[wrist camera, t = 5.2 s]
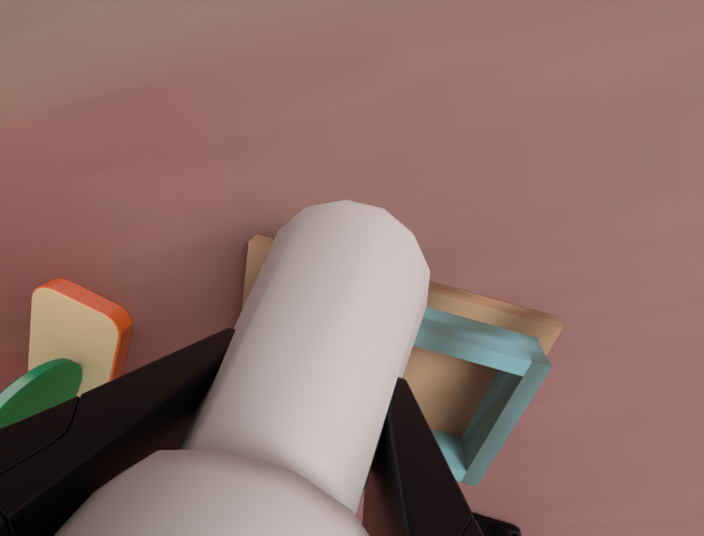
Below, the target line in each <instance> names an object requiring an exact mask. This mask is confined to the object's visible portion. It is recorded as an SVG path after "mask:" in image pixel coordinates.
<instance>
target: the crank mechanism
mask: <svg viewBox="0 0 704 536" xmlns="http://www.w3.org/2000/svg"><path fill="white" fill-rule="evenodd" d="M132 325H133V324H132V321H131V318H130V316H129V315H128V313H127V312H126V311H125V310H124V309H123V308H122V307H121V306H119V305H117V304H116V303H114V302H112V301H110V300H108V299H106V298H104V297H101V296H99V295H97V294H95V293H93V292H91V291H89V290H87V289H85V288H83V287H81V286H79V285H77V284H75V283H73V282H71V281H68V280H65V279H61V278H56V279H53V280H51V281H49V282H47V283H45V284H43V285H41V286H39V287H37V288H36V289H35V290H34V291H33V294H32V304H31V322H30V340H29V357H28V372H27V373H25V374H24V375H22V376H21V377H19V378H18V379H17V380H16V381H14V382H13V383H12V384H10V385H9V386H8V387H7V388H5V389H4V390H3V391H2V392H1V393H0V428H2V427H5V426H7V425H10V424H13V423H15V422H18V421H20V420H23V419H25V418H27V417H30V416H32V415H34V414H37V413H39V412H41V411H44V410H46V409H48V408H51V407H53V406H55V405H58V404H60V403H62V402H64V401H66V400H69V399H71V398H73V397H75V396H79V397H80V395H81V394H82V393H85V392H87V391H89V390H91V389H93V388H96V387H98V386H100V385H102V384H105V383H107V382H109V381H111V380H113V379H116V378H118V377H120V376H121V375H122V371H123V367H124V362H125V358H126V354H127V350H128V345H129V341H130V337H131V333H132Z"/></svg>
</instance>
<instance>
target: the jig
mask: <svg viewBox="0 0 704 536" xmlns="http://www.w3.org/2000/svg"><path fill="white" fill-rule="evenodd" d="M273 241H274V238H270V237H266V236H263V235H259V234H256V235H255V236H254V237H253V238H252V239H251V240H249V243H248V253H247V262H246V272H245V282H244V292H243V301H242V309H243V307H244V305H245V303H246V301H247V298H248V296H249V294H250V292H251V290H252V288H253V285H254V283H255V281H256V279H257V277H258V275H259V272H260V270H261V268H262V266H263V264H264V262H265V259H266V257H267V255H268V252H269V250H270V248H271V245H272V243H273ZM562 329H563V327H562V326H561V324H560V323H559V321H558V319H557V318H556V316H553V315H549V314H546V313H542V312H538V311H535V310H531V309H528V308H524V307H520V306H517V305H513V304H509V303H506V302H502V301H499V300H495V299H491V298H488V297H484V296H480V295H477V294H473V293H470V292H466V291H462V290H459V289H455V288H451V287H448V286H444V285H441V284H437V283H433V282H430V281H429V288H428V298H427V307H426V310H425V312H424V315H423V318H422V321H421V324H420V327H419V330H418V333H417V336H416V339H415V342H414V345H413V348H412V351H411V353H410V356H409V359H408V362H407V365H406V368H405V371H404V374H403V377H402V378H404V379H405V380H406V381H407V382H408V384H409V386H410V388H411V390H412V392H413V394H414V396H415V398H416V400H417V402H418V404H419V406H420V409H421V411H422V413H423V415H424V417H425V419H426V421H427V423H428V425H429V427H430V429H431V431H432V433H433V435H434V437H435V439H436V441H437V443H438V445H439V447H440V449H441V451H442V453H443V455H444V457H445V459H446V461H447V463H448V465H449V467H450V469H451V471H452V473H453V475H454V477H455V479H456V481H459V482H463V483H466V484H469V485H473V486H477V485H478V483H479V482H480V480H481V478H482V477H483V475H484V474H485V472H486V470H487V469H488V467H489V466H490V464H491V463H492V461H493V459H494V458H495V456H496V455H497V453H498V452H499V450H500V448H501V447H502V445H503V444H504V442H505V440H506V439H507V437H508V436H509V434H510V433H511V431H512V429H513V428H514V426H515V425H516V423H517V422H518V420H519V418H520V417H521V415H522V414H523V412H524V410H525V409H526V407H527V406H528V404H529V403H530V401H531V399H532V398H533V396H534V395H535V393H536V392H537V390H538V388H539V387H540V385H541V384H542V382H543V381H544V379H545V377H546V376H547V374H548V373H549V371H550V369H551V368H552V367H551V365H550V363H549V361H548V359H547V357H546V355H547V354H548V352H549V350H550V349H551V347H552V345H553V344H554V342H555V341H556V339H557V337H558V336H559V334H560V332H561V331H562Z"/></svg>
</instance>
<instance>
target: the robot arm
mask: <svg viewBox="0 0 704 536" xmlns="http://www.w3.org/2000/svg"><path fill="white" fill-rule="evenodd" d="M235 331H236V329H234V328H227V329H225V330H222V331H220V332H218V333H216V334H213V335H211V336H209V337H207V338H205V339H202V340H200V341H198V342H196V343H193V344H191V345H189V346H187V347H185V348H182V349H180V350H178V351H176V352H173V353H171V354H169V355H167V356H165V357H162V358H160V359H158V360H156V361H153V362H151V363H149V364H147V365H145V366H142V367H140V368H138V369H136V370H133V371H131V372H129V373H127V374H125V375H122V376H120V377H118V378H116V379H113V380H111V381H109V382H107V383H105V384H102V385H100V386H98V387H96V388H93V389H91V390H89V391H87V392H85V393H82V394H81V395H80V397H79V396H75V397H73V398H71V399H69V400H66V401H64V402H62V403H60V404H58V405H55V406H53V407H51V408H48V409H46V410H44V411H41V412H39V413H37V414H34V415H32V416H30V417H27V418H25V419H23V420H20V421H18V422H15V423H13V424H10V425H7V426H5V427H2V428H0V536H54V534H55V533H56V532H57V531H58V530H59V529H60V528H61V527H62V526H63V525H64V524H65V523H66V521H67V520H68V519H69V518H70V517H71V516H72V515H73V514H74V513H75V512H76V511H77V510H78V509H79V507H80V506H81V505H82V504H83V503H84V502H85V501H86V500H87V499H88V498H89V497H90V496H91V495H92V493H93V492H95V491H96V490H97V489H99V488H100V487H102V486H103V485H105V484H106V483H107V482H109V481H110V480H112V479H113V478H115V477H116V476H117V475H119V474H120V473H122V472H123V471H125V470H127V469H128V468H130V467H132V466H133V465H135V464H137V463H138V462H140V461H142V460H143V459H145V458H147V457H148V456H150V455H151V454H153V453H155V452H156V451H158V450H178V448H179V445H180V443H181V441H182V439H183V437H184V435H185V432H186V430H187V428H188V426H189V424H190V422H191V419H192V417H193V415H194V413H195V411H196V409H197V407H198V406H199V404H200V402H201V401H202V399H203V397H204V395H205V394H206V392H207V390H208V389H209V387H210V385H211V383H212V382H213V380H214V378H215V376H216V375H217V373H218V371H219V368H220V366H221V364H222V361H223V359H224V357H225V354H226V352H227V350H228V347H229V345H230V342H231V340H232V338H233V335H234V333H235ZM362 526H363V527H364V528H365V530H366V531H367V533H368V534H369V536H521V532H520V529H519V528H518V527H516V526H513V525H510V524H506V523H503V522H500V521H496V520H493V519H490V518H486V517H483V516H480V515H476V514H473V513H472V512H471V509H470V507H469V505H468V503H467V501H466V499H465V497H464V495H463V493H462V491H461V489H460V487H459V485H458V483H457V481H456V479H455V477H454V475H453V473H452V471H451V469H450V467H449V465H448V463H447V461H446V459H445V457H444V455H443V453H442V451H441V449H440V447H439V445H438V443H437V441H436V439H435V437H434V435H433V433H432V431H431V429H430V427H429V425H428V423H427V421H426V419H425V417H424V415H423V413H422V411H421V409H420V406H419V404H418V402H417V400H416V398H415V396H414V394H413V392H412V390H411V388H410V386H409V384H408V382H407V381H406V380H405V379H404V378H400V377H398V378H397V381H396V384H395V388H394V391H393V394H392V397H391V401H390V404H389V407H388V411H387V414H386V417H385V420H384V424H383V427H382V431H381V437H380V442H379V447H378V450H377V453H376V456H375V459H374V462H373V465H372V467H371V470H370V473H369V476H368V479H367V482H366V485H365V493H364V508H363V522H362Z"/></svg>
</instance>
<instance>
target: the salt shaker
mask: <svg viewBox="0 0 704 536" xmlns="http://www.w3.org/2000/svg"><path fill="white" fill-rule="evenodd" d="M429 277H430V270H429V268H428V265H427V263H426V261H425V259H424V257H423V254H422V252H421V250H420V248H419V245H418V243H417V241H416V239H415V236H414V234H413V233H412V232H411V231H410V230H409V229H407V228H406V227H405V226H404V225H403V224H402V223H400V222H399V221H398V220H397V219H396V218H395V217H393V216H392V215H391V214H390V213H389V212H388V211H386V210H385V209H384V208H380V207H376V206H372V205H368V204H364V203H359V202H355V201H351V200H341V201H335V202H330V203H324V204H318V205H312V206H308V207H305V208H304V209H303V210H301V211H300V212H299V213H298V214H297V215H296V216H294V217H293V218H292V219H291V220H290V221H289V222H287V223H286V224H285V225H284V226H283V227H282V228H280V229H279V230H278V231H277V233H276V236H275V238H274V241H273V243H272V245H271V248H270V250H269V252H268V255H267V257H266V259H265V262H264V264H263V266H262V268H261V270H260V272H259V275H258V277H257V279H256V281H255V283H254V285H253V288H252V290H251V292H250V294H249V296H248V298H247V301H246V303H245V305H244V307H243V309H242V311H241V314H240V316H239V318H238V320H237V322H236V324H235V327H234V329H236V331H235V333H234V335H233V338H232V340H231V342H230V345H229V347H228V350H227V352H226V354H225V357H224V359H223V361H222V364H221V366H220V368H219V371H218V373H217V375H216V376H215V378H214V380H213V382H212V383H211V385H210V387H209V389H208V390H207V392H206V394H205V395H204V397H203V399H202V401H201V402H200V404H199V406H198V407H197V409H196V411H195V413H194V415H193V417H192V419H191V422H190V424H189V426H188V428H187V430H186V432H185V435H184V437H183V439H182V441H181V443H180V445H179V448H178V450H158V451H156V452H155V453H153V454H151V455H150V456H148V457H147V458H145V459H143V460H142V461H140V462H138V463H137V464H135V465H133V466H132V467H130V468H128V469H127V470H125V471H123V472H122V473H120V474H119V475H117V476H116V477H115V478H113V479H112V480H110V481H109V482H107V483H106V484H105V485H103V486H102V487H100V488H99V489H97V490H96V491H95V492H93V493H92V495H91V496H90V497H89V498H88V499H87V500H86V501H85V502H84V503H83V504H82V505H81V506H80V507H79V509H78V510H77V511H76V512H75V513H74V514H73V515H72V516H71V517H70V518H69V519H68V520H67V521H66V523H65V524H64V525H63V526H62V527H61V528H60V529H59V530H58V531H57V532H56V533H55V534H54V536H369V534H368V533H367V531H366V530H365V528H364V527H363V526H362V524H361V523H360V521H359V520H358V518H357V517H356V516H355V515H356V512H357V509H358V505H359V503H360V500H361V497H362V494H363V491H364V488H365V485H366V482H367V479H368V476H369V473H370V470H371V467H372V465H373V462H374V459H375V456H376V453H377V450H378V447H379V442H380V437H381V431H382V427H383V424H384V420H385V417H386V414H387V411H388V407H389V404H390V401H391V397H392V394H393V391H394V388H395V384H396V381H397V378H398V377H400V378H402V377H403V374H404V371H405V368H406V365H407V362H408V359H409V356H410V353H411V351H412V348H413V345H414V342H415V339H416V336H417V333H418V330H419V327H420V324H421V321H422V318H423V315H424V312H425V310H426V307H427V298H428V288H429Z"/></svg>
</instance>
